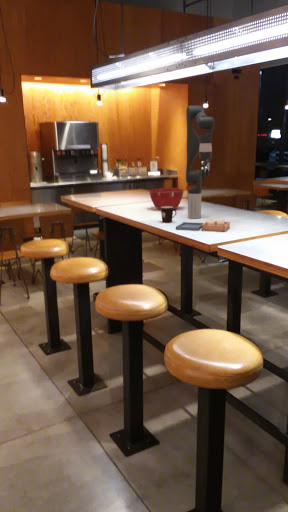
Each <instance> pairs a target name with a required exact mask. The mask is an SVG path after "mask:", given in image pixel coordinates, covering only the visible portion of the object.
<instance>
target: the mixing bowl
mask: <svg viewBox="0 0 288 512" xmlns="http://www.w3.org/2000/svg"><path fill="white" fill-rule="evenodd" d="M184 191H185V189H182V188H155V189H150V190H148V192H149V196H150V199H151V202H152V205H153V206H154V207H155V208H156V209H157V210H159V211H161V207H164V206H171V207H173V210H175V209H177V208H178V207H179V205H180V203H181V202H182V200H183V196H184Z"/></svg>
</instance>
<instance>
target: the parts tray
mask: <svg viewBox="0 0 288 512" xmlns="http://www.w3.org/2000/svg"><path fill="white" fill-rule="evenodd" d="M204 223H205V222H190V221H189V222H188V221H183V222H181V223H179V224H177V225H175V230H178V231H194V232H195V231H197V232H198V231H199V230H202V224H204Z"/></svg>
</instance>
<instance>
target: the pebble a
mask: <svg viewBox="0 0 288 512" xmlns="http://www.w3.org/2000/svg"><path fill="white" fill-rule="evenodd" d="M215 221H216V220H215V219H207V221H206V222H207V225H215Z"/></svg>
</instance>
